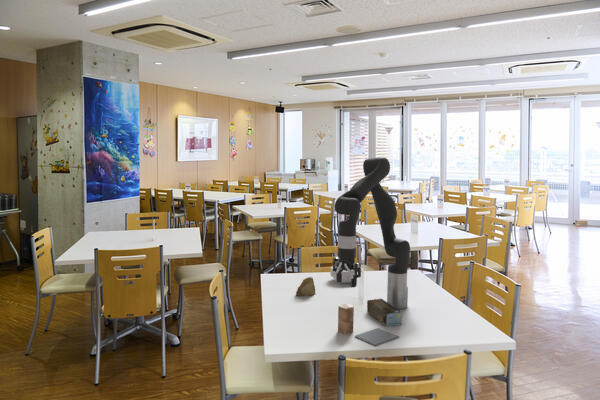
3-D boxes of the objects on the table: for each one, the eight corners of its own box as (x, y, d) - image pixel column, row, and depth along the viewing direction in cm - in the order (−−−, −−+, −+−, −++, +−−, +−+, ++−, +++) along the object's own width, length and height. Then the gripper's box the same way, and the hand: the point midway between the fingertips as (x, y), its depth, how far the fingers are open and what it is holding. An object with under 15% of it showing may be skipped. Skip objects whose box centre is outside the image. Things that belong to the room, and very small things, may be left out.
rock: (293, 293, 234) (312, 292, 232) (293, 277, 238) (312, 276, 237) (298, 300, 243) (316, 299, 241) (298, 285, 247) (316, 284, 246)
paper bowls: (357, 284, 258) (358, 271, 258) (331, 284, 259) (331, 270, 258) (355, 277, 274) (355, 264, 273) (329, 277, 274) (329, 264, 273)
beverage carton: (385, 327, 196) (386, 312, 195) (366, 312, 214) (366, 298, 213) (402, 325, 198) (402, 310, 198) (381, 310, 217) (381, 297, 216)
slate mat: (378, 329, 193) (378, 327, 193) (398, 337, 185) (398, 335, 185) (354, 337, 185) (354, 335, 185) (375, 346, 176) (375, 344, 176)
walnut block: (345, 328, 194) (346, 303, 192) (353, 331, 190) (353, 306, 189) (337, 331, 191) (338, 305, 190) (345, 334, 187) (345, 308, 186)
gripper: (366, 247, 183) (365, 287, 185) (341, 242, 195) (341, 279, 196) (352, 250, 179) (351, 290, 181) (328, 244, 190) (328, 282, 192)
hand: (346, 284), depth 188 cm, fingers open, 8 cm apart
